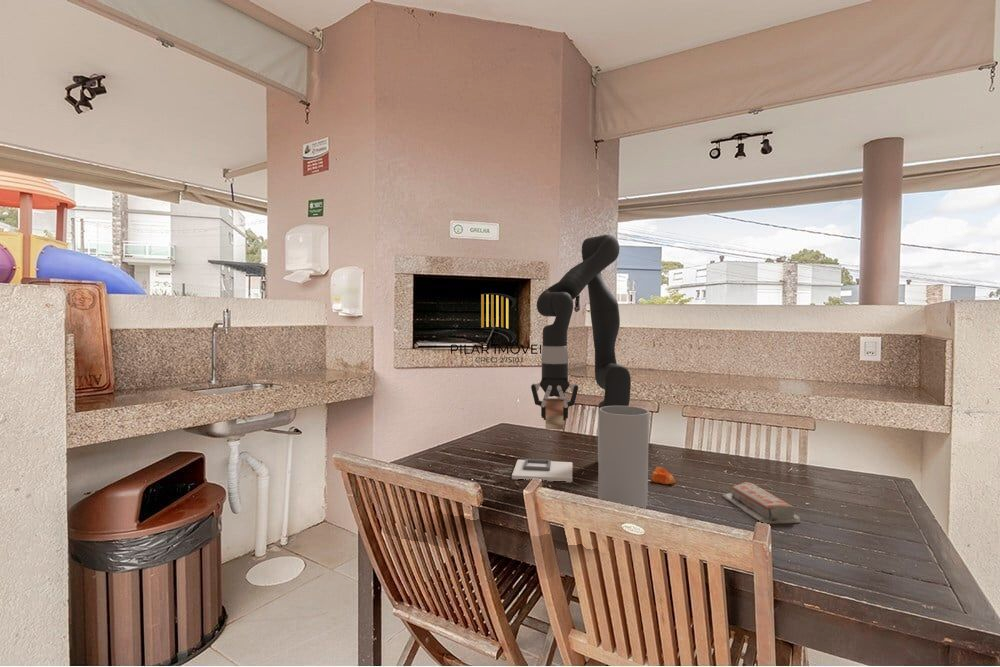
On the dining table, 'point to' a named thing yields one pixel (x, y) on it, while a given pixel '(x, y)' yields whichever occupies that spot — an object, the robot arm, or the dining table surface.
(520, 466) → the base plate
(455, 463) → the dining table surface
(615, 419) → the cylinder vase
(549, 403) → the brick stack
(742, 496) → the packaged product
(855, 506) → the dining table surface
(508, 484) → the dining table surface
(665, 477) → the rock
